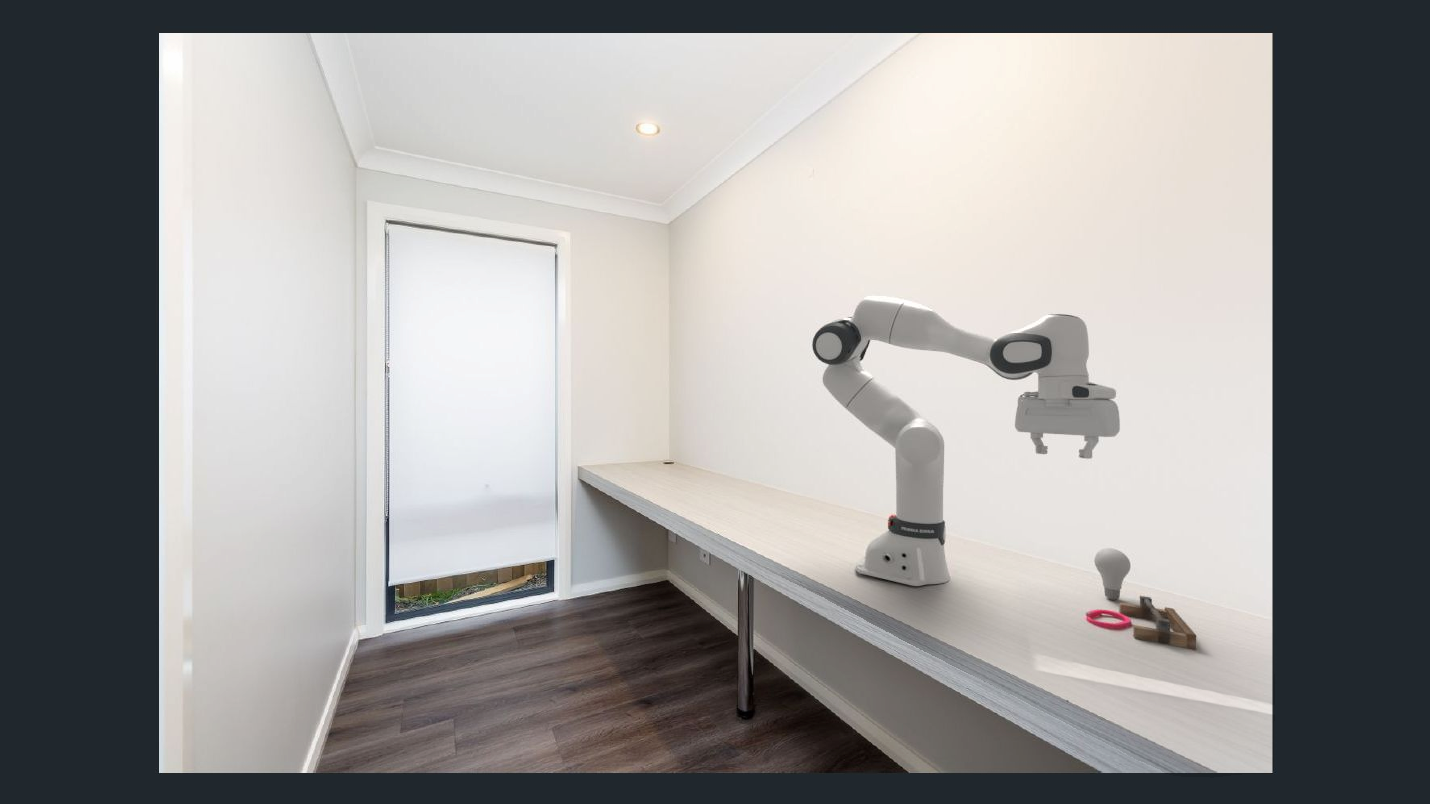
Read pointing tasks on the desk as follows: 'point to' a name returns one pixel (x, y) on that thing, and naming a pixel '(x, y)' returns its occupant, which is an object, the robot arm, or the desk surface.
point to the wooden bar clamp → (1160, 624)
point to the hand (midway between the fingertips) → (1062, 456)
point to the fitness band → (1115, 626)
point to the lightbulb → (1112, 570)
